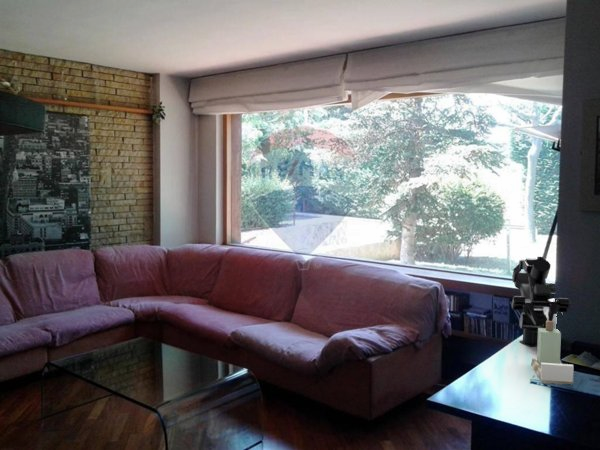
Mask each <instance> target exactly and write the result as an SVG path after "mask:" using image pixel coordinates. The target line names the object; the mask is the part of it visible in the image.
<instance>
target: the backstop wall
mask: <svg viewBox="0 0 600 450" xmlns="http://www.w3.org/2000/svg"><path fill="white" fill-rule="evenodd" d="M574 370H575V369H574V364H570V363H569V364H568V363H563V364H556V363H541V380H552V381H565V382H573V383H574Z"/></svg>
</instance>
